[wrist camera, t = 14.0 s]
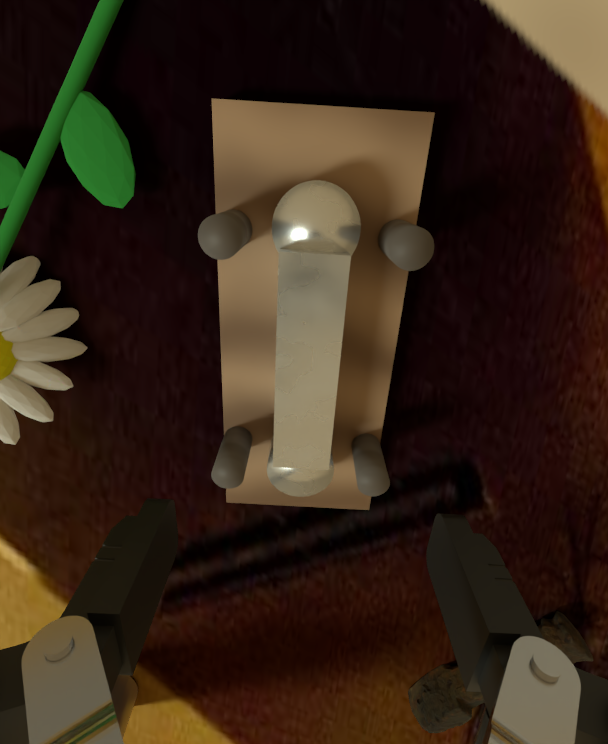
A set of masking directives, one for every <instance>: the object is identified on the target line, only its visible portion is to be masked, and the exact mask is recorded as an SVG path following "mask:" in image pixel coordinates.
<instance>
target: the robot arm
mask: <svg viewBox="0 0 608 744" xmlns="http://www.w3.org/2000/svg"><path fill="white" fill-rule="evenodd" d="M177 546H178V531H177V521H176V512H175V503H174V501H173V500H169V499H149V498H148V499H147V500H146V501H145V502H144V504H143V506H142V508H141V510H140V512H139V514H138V516H126V517H125V518H124V519H122V520H121V521H120V522H119V523H118V524H117V525H116V526H115V527H113V528H112V529H111V531H110V533H109V535H108V536H107V538H106V540H105V542H104V543H103V546H102V548H100V550H99V552H98V554H97V555H96V557H95V561H93V562H92V564H91V566H90V568H89V569H88V571H87V573H86V574H85V576H84V578H83V580H82V581H81V583H80V585H79V587H78V588H77V590H76V592H75V594H74V595H73V597H72V599H71V600H70V602H69V604H68V606H67V607H66V609H65V611H64V612H63V614H62V615H61V617H60V618H59V619H57V620H55V621H53V622H51V623H49V624H48V625H46V626H45V627H43V628H42V629H41V630H40V631H39V632H37V633H36V635H35V636H34V637H33V638H32V639H31V640H30V641H28V642H26V643H23V644H20V645H17V646H13V647H10V648H6V649H2V650H0V744H124V743H123V740H122V739H123V736H124V733H125V730H126V727H127V724H128V721H129V718H130V715H131V712H132V709H133V707H134V704H135V701H136V698H137V694H138V687H137V684H136V683H135V681H134V680H133V679H132V678H131V677H130V676H129V675H133V673H134V670H135V667H136V664H137V662H138V659H139V656H140V653H141V650H142V648H143V645H144V642H145V639H146V637H147V634H148V631H149V628H150V626H151V623H152V620H153V617H154V614H155V612H156V609H157V606H158V603H159V601H160V598H161V595H162V592H163V589H164V587H165V584H166V581H167V578H168V576H169V573H170V570H171V567H172V565H173V562H174V559H175V556H176V552H177ZM427 567H428V571H429V574H430V578H431V581H432V584H433V587H434V590H435V594H436V597H437V600H438V603H439V606H440V609H441V613H442V616H443V619H444V622H445V625H446V629H447V632H448V635H449V638H450V641H451V644H452V648H453V651H454V654H455V657H456V660H457V664H458V667H459V670H460V673H461V676H462V680H463V683H464V686H465V689H466V691H469V692H481V693H482V695H483V698H484V701H485V704H486V707H485V709H484V712H483V715H482V718H481V722H480V725H479V728H478V731H477V735H476V738H475V741H474V744H608V680H606V679H604V678H601V677H598V676H595V675H593V674H590V673H587V672H585V671H582V670H580V669H578V668H576V667H574V665H573V664H572V663H571V661H570V660H569V659H568V658H567V656H566V655H565V654H564V653H563V652H562V651H561V650H559V649H558V648H557V647H556V646H554V645H553V644H551V643H550V642H548V641H546V640H544V638H543V636H542V634H541V633H540V631H539V629H538V627H537V625H536V623H535V621H534V619H533V617H532V615H531V614H530V612H529V610H528V608H527V606H526V604H525V602H524V600H523V598H522V596H521V594H520V592H519V591H518V589H517V587H516V585H515V583H514V582H513V581H512V577H511V575H510V573H509V571H508V570H507V568H505V564H504V562H503V560H502V558H501V556H500V554H499V552H498V550H497V548H496V547H495V546H494V545H493V544H492V543H491V542H490V541H489V540H488V539H487V538H486V537H485V536H484V535H483V534H473V532H472V530H471V528H470V526H469V523H468V521H467V519H466V518H465V516H463V515H457V514H437V515H436V517H435V520H434V524H433V528H432V532H431V536H430V539H429V543H428V547H427Z"/></svg>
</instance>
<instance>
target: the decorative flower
mask: <svg viewBox="0 0 608 744" xmlns="http://www.w3.org/2000/svg"><path fill="white" fill-rule="evenodd" d="M123 1H124V0H100V1H99V3H98V5H97V8H96V10H95V12H94V14H93V17H92V19H91V21H90V24H89V26H88V28H87V30H86V33H85V35H84V37H83V39H82V42H81V44H80V46H79V49H78V51H77V53H76V55H75V58H74V60H73V62H72V64H71V67H70V69H69V71H68V74H67V76H66V78H65V80H64V83H63V85H62V87H61V89H60V92H59V94H58V96H57V99H56V101H55V103H54V105H53V108H52V110H51V112H50V114H49V117H48V119H47V121H46V124H45V126H44V128H43V130H42V133H41V135H40V137H39V139H38V142H37V144H36V146H35V149H34V151H33V153H32V155H31V158H30V160H29V162H28V164H27V167H26V169H24V168H23V167H22V165H21V164H20V163H19V162H18V160H17V159H16V158H14V157H12V156H10V155H8V154H6V153H4V152H2V151H0V209H2V208H6V207H9V208H8V210H7V212H6V214H5V217H4V219H3V221H2V224H1V226H0V439H1V440H2V441H3V442H4V443H7V444H14V445H16V443H17V441H18V439H19V438H20V432H19V423H18V420H17V418H16V415H15V413H14V410H13V409H15V410H16V411H18V412H20V413H21V414H23V415H25V416H27V417H29V418H32V419H35V420H38V421H41V422H49V421H53V411H52V410H51V408H50V406H49V405H48V403H47V402H46V401H45V400H44V399H43V398H42V397H41V396H40V395H39V394H38V393H37V392H36V391H35V390H34V389H33V388H32V387H31V386H35V387H39V388H43V389H50V390H67V389H69V388H71V387H73V384H72V382H71V380H70V379H69V378H68V377H67V376H65V375H64V374H63V373H62V372H60V371H59V370H57V369H55V368H52V367H50V366H48V365H46V364H43V363H41V362H51V361H58V360H65V359H71V358H73V357H76V356H78V355H81V354H83V352H84V351H85V350H86V349H87V347H86V346H85V345H84V344H83V343H82V342H80V341H76V340H72V339H69V338H63V337H50V336H52V335H54V334H56V333H58V332H61V331H63V330H65V329H67V328H68V327H70V326H71V325H72V324H73V323H74V322H75V321H76V320H78V317H79V313H78V311H77V310H76V309H74V308H57V309H51V310H47V311H43V310H44V309H45V308H46V307H47V306H48V305H50V304H51V303H52V302H53V301H54V299H55V298H56V296H57V295H58V293H59V292H60V290H61V286H60V281H57V280H52V279H48V280H45V281H42V282H39V283H35V284H32V285H30V286H28V285H29V284H30V283H31V282H32V280H33V279H34V278H35V276H36V273H37V271H38V269H39V267H40V264H41V263H40V261H39V260H38V258H36V257H34V256H28V257H26V258H23V259H20V260H18V261H15V262H14V263H12V264H11V265H10V266H9V267H8V268H6V269H5V270H4V271H3V272H2V269H3V265H4V263H5V261H6V258H7V256H8V254H9V252H10V250H11V247H12V245H13V243H14V241H15V239H16V236H17V234H18V232H19V230H20V228H21V225H22V223H23V221H24V219H25V217H26V214H27V212H28V210H29V208H30V206H31V203H32V201H33V199H34V197H35V195H36V192H37V190H38V188H39V186H40V184H41V181H42V179H43V177H44V175H45V173H46V170H47V168H48V166H49V164H50V162H51V159H52V157H53V155H54V153H55V151H56V148H57V146H58V144H59V142H60V140H61V144H62V147H63V150H64V154H65V157H66V161H67V163H68V164H69V166H70V167H71V169H72V170H73V172H74V173H75V175H76V176H77V178H78V179H79V181H80V182H81V184H82V185H83V186H84V187H85V188H86V189H87V190H88V191H89V192H90V193H91V194H92V195H94V196H95V197H96V198H97V199H98V200H99V201H100V202H101V203H102V204H104V205H107V206H113V207H118V208H123V207H124V206H125V205H126V204H127V203H128V201H129V200H130V199H131V198H132V197H133V195H134V186H135V177H136V173H135V169H134V164H133V160H132V155H131V151H130V147H129V142H128V140H127V138H126V136H125V135H124V133H123V131H122V130H121V128H120V127H119V125H118V123H117V122H116V120H115V118H114V117H113V115H112V114H111V113H110V111H109V110H108V109H107V108H106V107H105V106H104V105H103V104H102V103H101V102H100V101H98V100H97V99H96V98H95V97H94V96H93V95H92V94H91V93H90V92H86V91H83V89H84V87H85V84H86V82H87V80H88V78H89V76H90V73H91V71H92V69H93V67H94V65H95V62H96V60H97V58H98V56H99V54H100V51H101V49H102V47H103V45H104V43H105V40H106V38H107V36H108V34H109V32H110V29H111V27H112V25H113V23H114V21H115V18H116V16H117V14H118V12H119V10H120V7H121V5H122V3H123ZM27 286H28V287H27ZM42 311H43V312H42ZM29 385H31V386H29Z"/></svg>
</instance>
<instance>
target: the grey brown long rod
mask: <svg viewBox="0 0 608 744" xmlns="http://www.w3.org/2000/svg"><path fill="white" fill-rule="evenodd" d="M537 627H538V629H539V631H540V633H541V634H542V636H543V638H544V640H546V641H548V642H550V643H551V644H553V645H554V646H556V647H557V648H558V649H559V650H561V651H562V652H563V653H564V654H565V655H566V656H567V658H568V659H569V660H570V661H571V663H572V664H574V663H575V662H579V661H593V656H592V654H591V652H590V650H589V649H588V647H587V645H586V643H585V641H584V640H583V638H582V637H581V635H580V634H579V632H578V630H577V629H576V628H575V627H574V626H573V624H572V623H571V622H570V621H569V620H568V619H567V618H566V616H565V615H563V614H562V613H561V612H559V611H556V613H555V616H554V617H553V618H552V619H545V618H542V619H541V625H539V626H537ZM408 694H409V701H410V706H411V709H412V712H413V714H414V716H415V717H416V719H417V720H418V722H419V724H420V725H421V727H422V728H423V729H425V730H426V731H428V732H429V733H439V732H443V731H446V730H447V729H449V728H454V727H455V726H461V725H463V724H464V723H466V722H467V721H469V720H470V719H471V717H472V708H474V707H476V706H478V705H479V704H482V703H484V702H485V701H484V698H483V695H482V693H481V692H469V691H466V689H465V686H464V683H463V680H462V676H461V673H460V670H459V667H458V665H457V666H454V667H453V666H450V665H447V664H443V665H441V666H439V667H437V668H435V669H433V670H432V671H430V672H429V673H427V674H426V675H425V676H424V677H422V678H421V679H420V680H419V681H417V682H416V683H415V684H414V685H413V686H412V687H411V688H410V689H409V691H408Z"/></svg>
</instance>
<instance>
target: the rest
mask: <svg viewBox="0 0 608 744" xmlns="http://www.w3.org/2000/svg"><path fill="white" fill-rule="evenodd" d="M434 114H435V113H434V112H418V111H402V110H386V109H370V108H354V107H338V106H323V105H307V104H291V103H275V102H259V101H243V100H227V99H212V121H213V148H214V175H215V202H216V214H215V215H212V216H209V217H207V218H206V219H205V220H204V221H203V222H202V223H201V225H200V227H199V230H198V240H199V244H200V246H201V248H202V249H203V251H204V252H205V253H206V254H207V255H209V256H210V257H212V258H214V259H218V283H219V310H220V337H221V364H222V391H223V419H224V438H223V441H222V444H221V446H220V449H219V452H218V455H217V458H216V461H215V464H214V467H213V470H212V473H211V476H212V479H213V481H214V482H215V483H216V484H217V485H218V486H220V487H222V488H226V500H227V502H229V503H248V504H267V505H286V506H304V507H323V508H342V509H361V510H369V507H370V501H371V496H378V495H381V494H383V493H384V492H386V491H387V489H388V488H389V485H390V480H389V477H388V473H387V469H386V465H385V461H384V458H383V454H382V450H381V446H380V440H381V434H382V428H383V422H384V416H385V410H386V404H387V398H388V392H389V386H390V380H391V374H392V368H393V362H394V356H395V350H396V344H397V338H398V332H399V326H400V320H401V314H402V308H403V301H404V295H405V289H406V283H407V277H408V271H414V270H418V269H420V268H422V267H423V266H425V265H426V264H427V263H428V262H429V260H430V259H431V257H432V255H433V252H434V241H433V238H432V236H431V234H430V233H429V232H428V231H427V230H425V229H424V228H421V227H419V226H416V223H417V217H418V211H419V205H420V199H421V193H422V187H423V181H424V175H425V169H426V163H427V157H428V151H429V145H430V139H431V133H432V127H433V121H434ZM312 180H321V181H327V182H330V183H333V184H335V185H337V186H339V187H340V188H342V189H343V190H344V191H345V192H347V194H348V195H349V196H350V197H351V198H352V200H353V201H354V203H355V205H356V207H357V209H358V212H359V216H360V223H361V231H360V238H359V241H358V244H357V247H356V249H355V251H354V252H353V254H352V256H351V261H350V271H349V281H348V290H347V300H346V310H345V319H344V329H343V338H342V348H341V358H340V367H339V377H338V387H337V396H336V406H335V416H334V425H333V435H332V452H333V464H334V474H333V478H332V480H331V482H330V484H329V485H328V486H327V487H326V488H325V489H324V490H322V491H321V492H319V493H317V494H314V495H311V496H305V497H297V496H291V495H288V494H285V493H283V492H281V491H279V490H278V489H277V488H275V487H274V486H273V484H272V483H271V482H270V480H269V478H268V475H267V464H268V457H269V451H270V444H271V440H272V438H273V436H274V403H275V367H276V331H277V295H278V259H279V253H278V251H277V249H276V247H275V244H274V241H273V237H272V219H273V214H274V212H275V209H276V207H277V205H278V203H279V201H280V200H281V198H282V197H283V196H284V195H285V194H286V193H287V192H288V191H289V190H290V189H292V188H293V187H295V186H296V185H298V184H300V183H303V182H307V181H312Z"/></svg>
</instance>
